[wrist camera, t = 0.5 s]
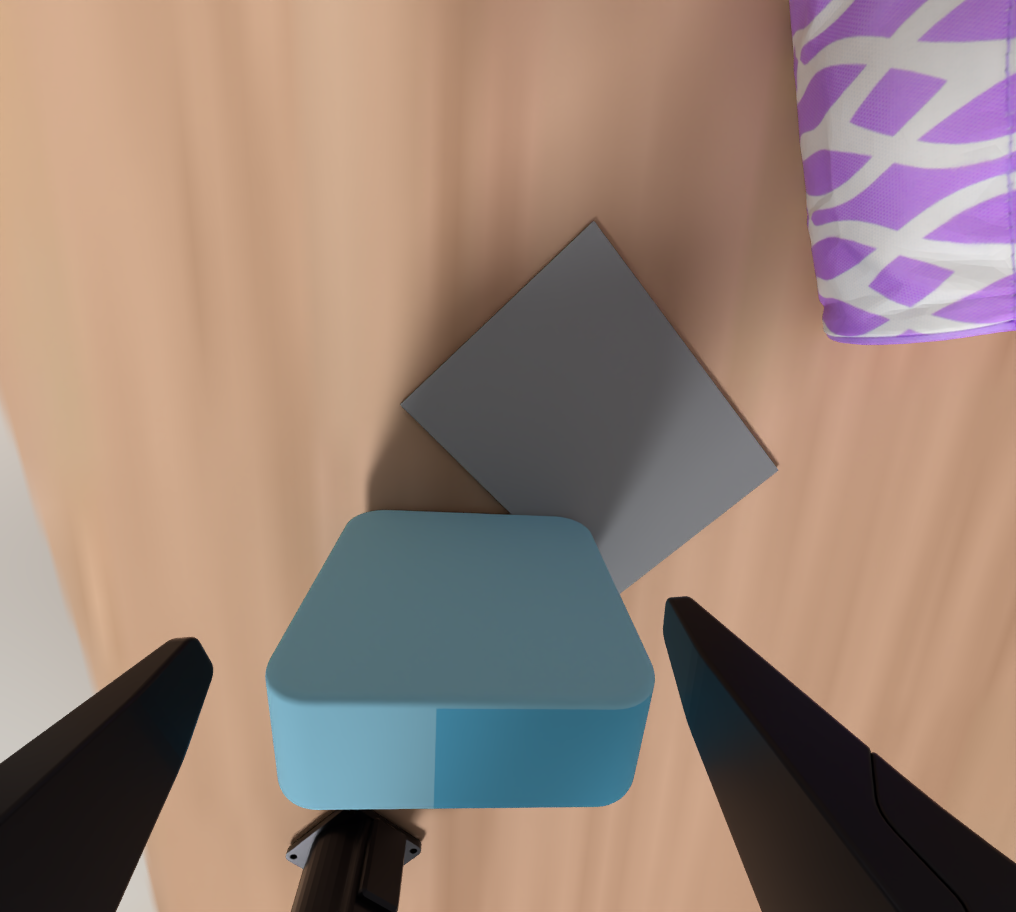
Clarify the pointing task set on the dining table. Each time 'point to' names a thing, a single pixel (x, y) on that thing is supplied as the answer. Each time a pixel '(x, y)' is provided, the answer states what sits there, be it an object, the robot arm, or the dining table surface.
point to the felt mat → (593, 413)
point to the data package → (459, 669)
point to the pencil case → (909, 165)
